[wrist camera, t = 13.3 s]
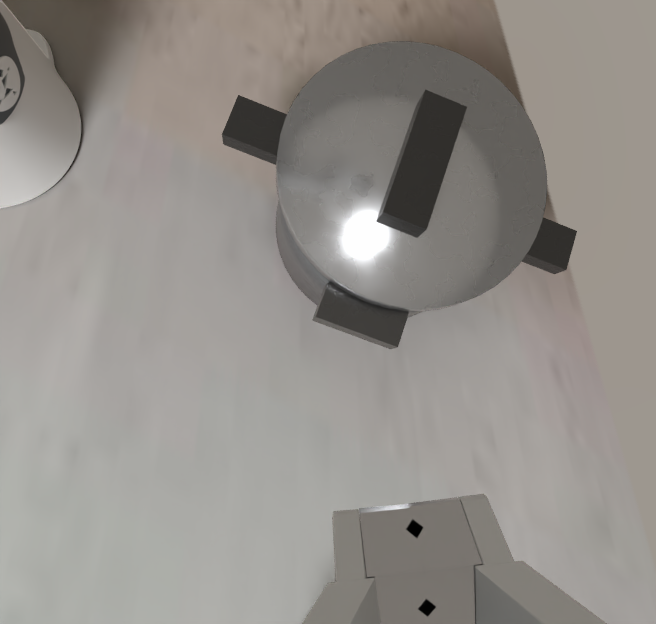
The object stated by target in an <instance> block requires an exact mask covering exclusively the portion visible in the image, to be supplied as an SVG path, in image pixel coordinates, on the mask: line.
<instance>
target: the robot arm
mask: <svg viewBox="0 0 656 624" xmlns="http://www.w3.org/2000/svg"><path fill="white" fill-rule="evenodd" d="M80 138H81V119H80V113H79V109H78V106H77V103H76V101H75V98H74V96H73V95H72V93H71V91H70V89H69V88H68V86H67V85H66V84H65V82H64V81H63V80H62V78H61V77H60V76H59V74H58V73H57V71H56V69H55V65H54V60H53V55H52V51H51V48H50V45H49V44H48V42H47V41H46V39H45V38H44V37H43V36H42V35H41V34H40V33H39V32H37V31H34V30H29V29H25V28H24V27H23V25H22V24H21V23H20V22H19V21H18V19H17V18H16V17H15V16H14V14H13V13H12V12H11V11H10V9H9V8H8V7H7V6H6V5H5V3H4V2H3V1H2V0H0V208H4V207H9V206H14V205H18V204H21V203H24V202H27V201H29V200H31V199H33V198H36V197H37V196H39V195H41V194H43V193H44V192H46V191H47V190H49V189H50V188H51V187H52V186H54V185H55V184H56V183H57V182H58V181H59V180H60V179H61V178H62V177H63V175H64V174H65V173H66V172H67V170H68V169H69V167H70V166H71V164H72V162H73V160H74V158H75V156H76V153H77V151H78V147H79V143H80ZM359 513H360V516H359ZM332 519H333V539H334V560H335V581H336V582H333V583H328V584H327V585H326V587H325V588H324V590H323V592H322V593H321V595H320V596H319V598H318V599H317V601H316V603H315V604H314V606H313V607H312V609H311V610H310V612H309V614H308V615H307V617H306V618H305V620H304V622H303V623H302V624H607V623H605V622H604V621H603V620H601V619H600V618H599V617H597V616H596V615H594V614H593V613H592V612H590V611H589V610H588V609H586V608H585V607H584V606H582V605H581V604H580V603H578V602H577V601H576V600H574V599H573V598H572V597H570V596H569V595H568V594H566V593H565V592H564V591H562V590H561V589H560V588H558V587H557V586H556V585H554V584H553V583H552V582H550V581H549V580H548V579H546V578H545V577H543V576H542V575H541V574H539V573H538V572H537V571H535V570H534V569H533V568H531V567H530V566H529V565H527V564H526V563H525V562H523V561H515V562H514V559H513V557H512V555H511V552H510V550H509V548H508V545H507V543H506V541H505V538H504V536H503V534H502V531H501V529H500V526H499V524H498V522H497V519H496V517H495V515H494V512H493V510H492V508H491V505H490V503H489V501H488V498H487V497H486V496H485V495H484V494H478V495H470V496H462V497H458V498H457V497H456V498H448V499H440V500H432V501H424V502H416V503H409V504H402V505H391V506H380V507H369V508H359V510H358V509H355V510H343V511H333V518H332Z"/></svg>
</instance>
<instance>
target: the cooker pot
mask: <svg viewBox="0 0 656 624" xmlns="http://www.w3.org/2000/svg"><path fill="white" fill-rule="evenodd" d="M286 116H287V114H284V113H282V112H279V111H277V110H274V109H272V108H269V107H267V106H264V105H262V104H259V103H257V102H254V101H252V100H249V99H247V98H244V97H242V96H239V95H238V97H237V100H236V102H235V104H234V107H233V109H232V112H231V114H230V116H229V119H228V121H227V124H226V126H225V128H224V131H223V133H222V137H223V144H224V145H227V146H229V147H232V148H234V149H237V150H239V151H242V152H245V153H247V154H250V155H252V156H255V157H257V158H260V159H262V160H265V161H267V162H270V163H273V164H275V165H276V161H277V152H278V146H279V140H280V134H281V131H282V128H283V125H284V121H285V118H286ZM576 232H577V231H575V230H573V229H570V228H568V227H565V226H563V225H560V224H558V223H556V222H553V221H551V220H548V219H546V218H543V219H542V223H541V225H540V228H539V231H538V234H537V236H536V238H535V240H534V242H533V244H532V246H531V248H530V250H529V251H528V253H527V254H526V256H525V257H524V258H523V260H522V262H525V263H527V264H530V265H532V266H535V267H537V268H540V269H543V270H545V271H548V272H550V273H553V274H556V273H559V272H562V271H564V270H566V269H567V265H568V262H569V258H570V254H571V250H572V247H573V244H574V240H575V236H576ZM276 236H277V244H278V248H279V252H280V255H281V258H282V260H283V263H284V265H285V268H286V269H287V271H288V273H289V275H290V277H291V278H292V280H293V281H294V282H295V284H296V285H297V286H298V288H299V289H300V290H301V291H302V292H303V293H304V294H305V295H306V296H307V297H308V298H309V299H310V300H311V301H313V302H314V303H315V304H316V305H318V306H317V309H316V312H315V314H314V317H313V321H316V322H318V323H321V324H324V325H326V326H329V327H332V328H335V329H337V330H340V331H343V332H345V333H348V334H351V335H354V336H356V337H359V338H362V339H364V340H367V341H370V342H373V343H375V344H378V345H381V346H383V347H386V348H389V349H392V348H396V347H398V345H399V342H400V339H401V335H402V332H403V329H404V326H405V323H406V320H407V318H408V317H411V316H413V315H416V314H418V313H420V312H423V311H401V310H395V309H389V308H384V307H381V306H378V305H374V304H371V303H368V302H366V301H363V300H361V299H359V298H357V297H355V296H352V295H350V294H349V293H347V292H346V291H344V290H342V289H341V288H339V287H337V286H336V285H335V284H333V283H332V282H331V281H330V280H328V279H327V278H326V277H325V276H323V275H322V274H321V273H320V272H319V271H318V270H317V269H316V268H315V267H314V266H313V265H312V264H311V262H310V261H309V260H308V259H307V258H306V256H305V255H304V254H303V252H302V251H301V250H300V248H299V247H298V245H297V244H296V242H295V240H294V238H293V236H292V235H291V233H290V231H289V229H288V226H287V224H286V221H285V219H284V216H283V214H282V210H281V206H280V202H279V200H278V207H277V214H276Z"/></svg>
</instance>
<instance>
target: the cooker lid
mask: <svg viewBox="0 0 656 624" xmlns="http://www.w3.org/2000/svg"><path fill="white" fill-rule="evenodd" d="M276 183H277V192H278V198H279V202H280V206H281V210H282V214H283V216H284V219H285V221H286V224H287V226H288V229H289V231H290V233H291V235H292V236H293V238H294V240H295V242H296V244H297V245H298V247H299V248H300V250H301V251H302V252H303V254H304V255H305V256H306V258H307V259H308V260H309V261H310V262H311V264H312V265H313V266H314V267H315V268H316V269H317V270H318V271H319V272H320V273H321V274H322V275H323V276H325V277H326V278H327V279H328V280H330V281H331V282H332V283H333V284H335V285H336V286H337V287H339V288H341V289H342V290H344V291H346V292H347V293H349V294H350V295H352V296H355V297H357V298H359V299H361V300H363V301H366V302H368V303H371V304H374V305H378V306H381V307H384V308H389V309H395V310H401V311H428V310H438V309H442V308H446V307H450V306H454V305H457V304H459V303H462V302H464V301H467V300H469V299H472V298H474V297H477V296H479V295H481V294H483V293H484V292H486V291H488V290H490V289H491V288H493V287H495V286H496V285H497V284H499V283H500V282H501V281H502V280H504V279H505V278H506V277H507V276H508V275H509V274H510V273H511V272H512V271H513V270H514V269H515V268H516V267H517V266H518V265H519V264H520V262H521V261H522V260H523V258H524V257H525V256H526V254H527V253H528V251H529V250H530V248H531V246H532V244H533V242H534V240H535V238H536V236H537V234H538V231H539V228H540V225H541V223H542V219H543V215H544V210H545V206H546V195H547V174H546V166H545V160H544V155H543V151H542V148H541V144H540V141H539V138H538V136H537V134H536V131H535V129H534V127H533V124H532V122H531V120H530V119H529V117H528V115H527V114H526V112H525V110H524V108H523V107H522V106H521V104H520V103H519V102H518V100H517V99H516V98H515V96H514V95H513V94H512V93H511V92H510V91H509V89H508V88H507V87H506V86H505V85H504V84H503V83H502V82H501V81H500V80H499V79H497V78H496V77H495V76H494V75H493V74H491V73H490V72H489V71H488V70H486V69H485V68H483V67H482V66H480V65H479V64H477V63H476V62H474V61H472V60H471V59H468V58H466V57H464V56H462V55H460V54H458V53H456V52H453V51H451V50H448V49H445V48H442V47H439V46H434V45H430V44H426V43H418V42H408V41H400V42H385V43H378V44H372V45H369V46H365V47H362V48H358V49H356V50H353V51H351V52H349V53H346V54H344V55H342V56H340V57H339V58H337V59H335V60H334V61H332V62H330V63H329V64H327V65H326V66H325V67H324V68H322V69H321V70H320V71H319V72H318V73H316V74H315V75H314V76H313V77H312V78H311V79H310V80H309V82H308V83H307V84H306V85H305V86H304V87H303V88H302V90H301V91H300V93H299V94H298V96H297V97H296V99H295V100H294V102H293V103H292V106H291V108H290V110H289V112H288V114H287V116H286V118H285V121H284V125H283V128H282V131H281V134H280V140H279V146H278V152H277V161H276Z"/></svg>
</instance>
